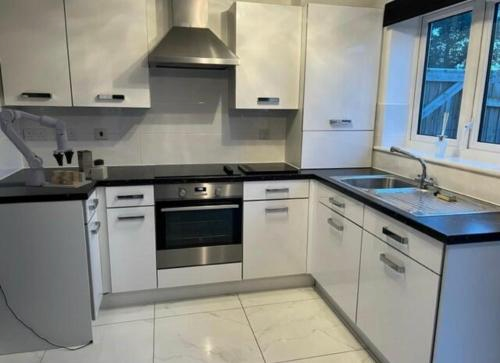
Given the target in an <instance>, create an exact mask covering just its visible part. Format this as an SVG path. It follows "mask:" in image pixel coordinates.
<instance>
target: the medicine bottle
mask: <svg viewBox="0 0 500 363" xmlns="http://www.w3.org/2000/svg"><path fill="white" fill-rule="evenodd" d="M92 160H93V159H92ZM91 175H92V176H91V181H104V180H106V179H108V177H109V176H108V167H107V165H106V166H105V162H104V159H102V158H99V159H98V158H96V159H94V160H93V168H91Z"/></svg>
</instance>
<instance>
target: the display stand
mask: <svg viewBox="0 0 500 363" xmlns="http://www.w3.org/2000/svg"><path fill="white" fill-rule="evenodd" d="M78 179H79V180H76V181H54V180H51V181H50V182H49V183H47V184H44V185H42V187H43V188H61V189H62V188H63V189H65V188H67V189H68V188H69V189H77V188H79V187H82V186H85V185H89V184H91V183H92V180H86V177H85V172H79V171H78Z"/></svg>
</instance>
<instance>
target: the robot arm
mask: <svg viewBox="0 0 500 363" xmlns="http://www.w3.org/2000/svg"><path fill="white" fill-rule="evenodd" d="M18 119H25V120H27V121H33V122H37V123H39V126H42V127H46V128H49V129H55V137H56V147H57V149H55V150H53V154H52V156H53V157H54V159H55V161H56V162H57V165H58V167H63V166H64V156H65V160H66V161H65V162H66V164H67V165H72V162H73V156H74V154H75V151H74V149H73V147H69V142H68V140H69V139H68V133H67V123H66V122H65V121H63V119H58V118H54V117H50V116H49V115H47V114H46V115H45V114H44V115H41V116H38V115H35V114H32V113H29V112H26V111H23V110H17V109H11V108H5V109H4V108H3V109H1V110H0V130H1V131H2V133H3V134H4V135H5V136H6V137H7V139H9V141H10V142H11V143H12V144H13V145H14V147H15V148H16V149H17V150H18V151H19V152H20V153H21V154H22V155H23V157H24V158H25V160H26V161H27V164H28V167H29V168H28V169H26V170H25V172H24V178H25V184H24V186H34V187H35V186H37V187H39V186H43V185H45V184H48V183H50V182H49V181H46V177H45V169H44V168H45V167H43V164H44V161H43V158H41V157H40V156H38V155H37V154H36V153H35V152H33V151H32V149H31V147H29V146H28V145H27V144H26V142H25V141H24V140H23V139H22V138H21V136H19V134H18V133H17V132H16V131H15V130H14V128H13V125H14V122H15V120H18Z"/></svg>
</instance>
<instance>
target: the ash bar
mask: <svg viewBox="0 0 500 363" xmlns="http://www.w3.org/2000/svg"><path fill="white" fill-rule="evenodd" d="M78 172H79V170H51V171H50V179H51V181H52V180H54V181H76V180H79V179H78Z"/></svg>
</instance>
